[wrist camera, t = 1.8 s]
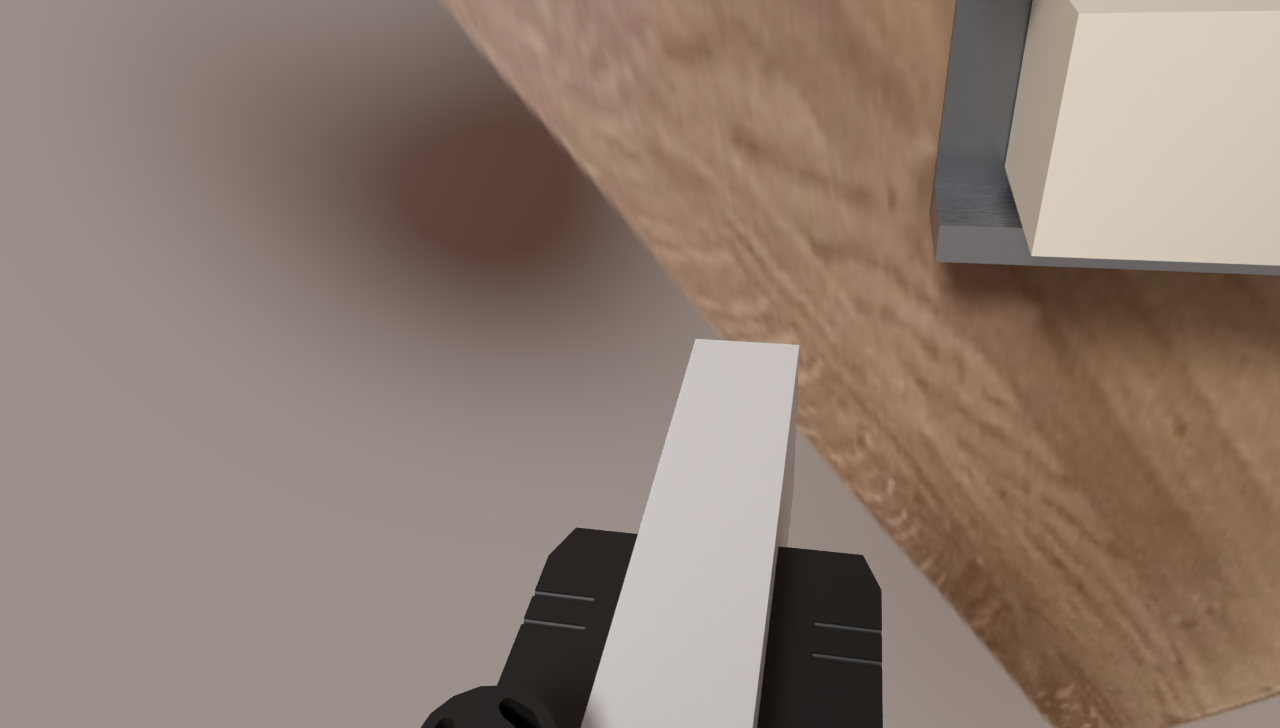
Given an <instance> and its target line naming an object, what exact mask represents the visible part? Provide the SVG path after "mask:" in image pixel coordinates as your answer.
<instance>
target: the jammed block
mask: <svg viewBox="0 0 1280 728" xmlns="http://www.w3.org/2000/svg"><path fill="white" fill-rule="evenodd" d="M1005 170H1006V173H1007V176H1008V180H1009V183H1010V187H1011V190H1012V193H1013V197H1014V200H1015V203H1016V207H1017V210H1018V213H1019V217H1020V220H1021V223H1022V227H1023V230H1024V233H1025V237H1026V240H1027V243H1028V247H1029V250H1030V253H1031V256H1042V257H1068V258H1094V259H1121V260H1147V261H1173V262H1199V263H1226V264H1252V265H1278V266H1280V0H1033V1H1032V7H1031V13H1030V19H1029V25H1028V31H1027V37H1026V43H1025V49H1024V55H1023V61H1022V67H1021V73H1020V79H1019V85H1018V91H1017V97H1016V103H1015V109H1014V115H1013V121H1012V127H1011V133H1010V139H1009V145H1008V151H1007V156H1006V162H1005Z"/></svg>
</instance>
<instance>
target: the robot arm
mask: <svg viewBox="0 0 1280 728" xmlns="http://www.w3.org/2000/svg"><path fill="white" fill-rule="evenodd" d="M798 365H799V345H790V344H773V343H756V342H739V341H722V340H705V339H696V340H695V343H694V347H693V350H692V353H691V357H690V360H689V363H688V367H687V370H686V374H685V377H684V380H683V384H682V387H681V391H680V394H679V397H678V401H677V404H676V408H675V411H674V415H673V418H672V421H671V424H670V428H669V431H668V434H667V438H666V441H665V445H664V448H663V451H662V455H661V458H660V461H659V465H658V468H657V472H656V475H655V478H654V482H653V485H652V489H651V492H650V496H649V499H648V502H647V505H646V509H645V512H644V516H643V519H642V522H641V526H640V529H639V533H638V534H631V533H622V532H612V531H603V530H594V529H584V528H575V529H574V530H573V532H571V533H570V534H569V535H568V536H567V537H566V539H565V540H564V541H563V542H562V543H561V544H560V545H559V546H558V547H557V548H556V549H555V550H554V551H553V552H552V553H551V554H550V555H549V556H548V559H547V561H546V564H545V566H544V569H543V571H542V574H541V576H540V579H539V582H538V584H537V586H536V589H535V596H532V599H531V602H530V604H529V607H528V609H527V612H526V614H525V617H524V624H522V625H521V627H520V629H519V632H518V634H517V637H516V639H515V642H514V644H513V647H512V649H511V652H510V655H509V657H508V659H507V662H506V664H505V667H504V669H503V672H502V675H501V677H500V680H499V682H498V685H497V686H480V687H478V688H475V689H472V690H469V691H466V692H464V693H461V694H458V695H455V696H453V697H452V698H450V699H449V700H448V701H446V702H445V703H444V704H443V705H441V706H440V707H439V708H437V709H436V710H435V711H433V712H432V713H431V714H430V715H429V717H428V718H427V719H426V721H425V722H424V724H423V725H422V727H421V728H883V718H882V717H883V714H882V636H881V631H882V605H881V589H880V587H879V585H878V583H877V581H876V579H875V577H874V575H873V573H872V572H871V569H870V568H869V566H868V564H867V562H866V560H865V558H864V556H863V555H856V554H847V553H837V552H827V551H818V550H808V549H798V548H788V547H787V543H788V535H789V525H790V515H791V507H792V497H793V487H794V461H795V438H796V437H795V436H796V414H797V390H798Z"/></svg>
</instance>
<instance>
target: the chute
mask: <svg viewBox="0 0 1280 728" xmlns="http://www.w3.org/2000/svg"><path fill="white" fill-rule="evenodd" d="M1032 1H1033V0H956V6H955V14H954V22H953V30H952V38H951V46H950V54H949V62H948V70H947V78H946V87H945V95H944V103H943V111H942V119H941V127H940V135H939V143H938V151H937V159H936V167H935V176H934V184H933V192H932V200H931V208H930V221H931V229H932V238H933V247H934V256H935V262H954V263H979V264H1004V265H1029V266H1054V267H1079V268H1104V269H1128V270H1153V271H1178V272H1203V273H1228V274H1253V275H1278V276H1280V266H1278V265H1252V264H1226V263H1199V262H1173V261H1147V260H1121V259H1094V258H1068V257H1042V256H1031V253H1030V250H1029V247H1028V243H1027V240H1026V237H1025V233H1024V230H1023V227H1022V223H1021V220H1020V217H1019V213H1018V210H1017V207H1016V203H1015V200H1014V197H1013V193H1012V190H1011V187H1010V183H1009V180H1008V176H1007V173H1006V170H1005V162H1006V156H1007V151H1008V145H1009V139H1010V133H1011V127H1012V121H1013V115H1014V109H1015V103H1016V97H1017V91H1018V85H1019V79H1020V73H1021V67H1022V61H1023V55H1024V49H1025V43H1026V37H1027V31H1028V25H1029V19H1030V13H1031V7H1032Z"/></svg>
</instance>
